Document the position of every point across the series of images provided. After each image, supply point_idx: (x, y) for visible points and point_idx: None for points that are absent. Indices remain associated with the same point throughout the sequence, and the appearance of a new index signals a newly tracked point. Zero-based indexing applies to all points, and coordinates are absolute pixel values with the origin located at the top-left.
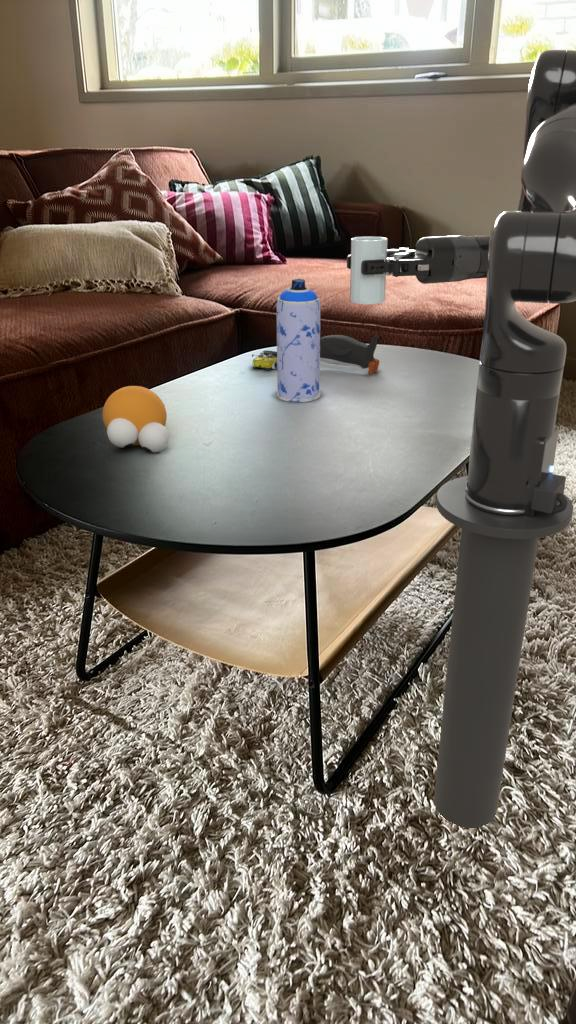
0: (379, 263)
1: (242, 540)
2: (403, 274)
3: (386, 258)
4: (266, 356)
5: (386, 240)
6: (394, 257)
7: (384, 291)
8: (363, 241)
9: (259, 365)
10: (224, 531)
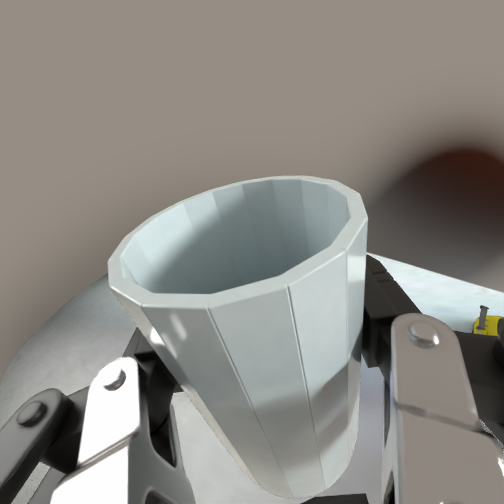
0: (134, 334)
1: (73, 300)
2: (39, 495)
3: (197, 397)
4: (481, 325)
5: (123, 300)
6: (119, 441)
7: (238, 463)
8: (170, 209)
9: (473, 325)
10: (88, 294)
